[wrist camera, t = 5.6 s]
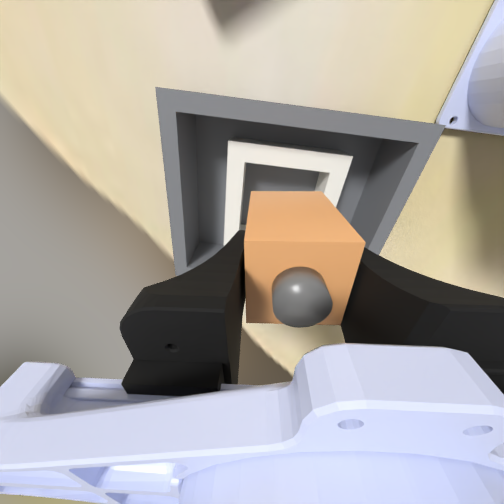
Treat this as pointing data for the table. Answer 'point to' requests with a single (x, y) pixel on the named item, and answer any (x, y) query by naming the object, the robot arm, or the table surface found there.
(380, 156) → the bay
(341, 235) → the plug
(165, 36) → the table surface
